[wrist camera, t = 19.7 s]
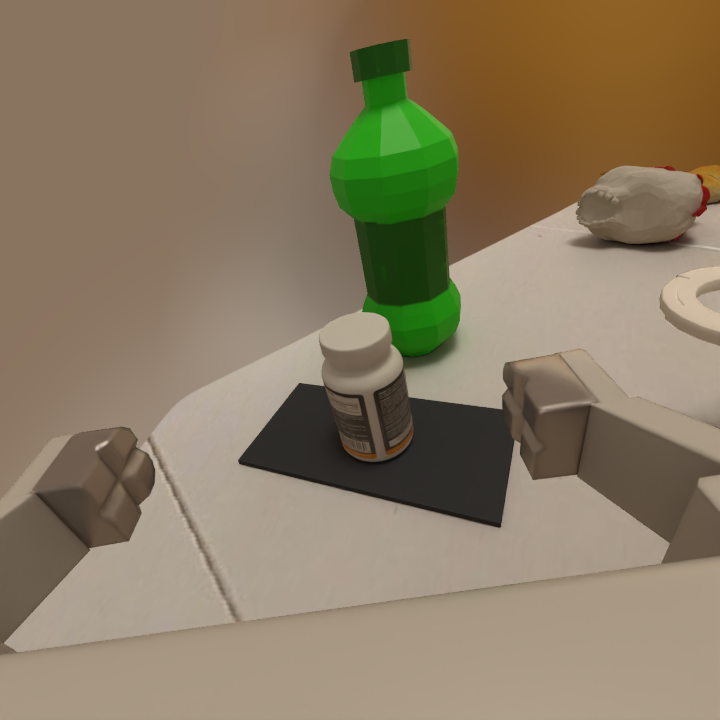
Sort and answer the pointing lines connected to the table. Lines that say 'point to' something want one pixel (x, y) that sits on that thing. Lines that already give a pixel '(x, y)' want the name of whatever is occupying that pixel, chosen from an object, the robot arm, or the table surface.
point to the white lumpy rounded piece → (643, 204)
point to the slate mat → (406, 470)
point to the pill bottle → (366, 386)
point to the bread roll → (710, 180)
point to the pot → (692, 303)
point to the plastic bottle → (399, 201)
